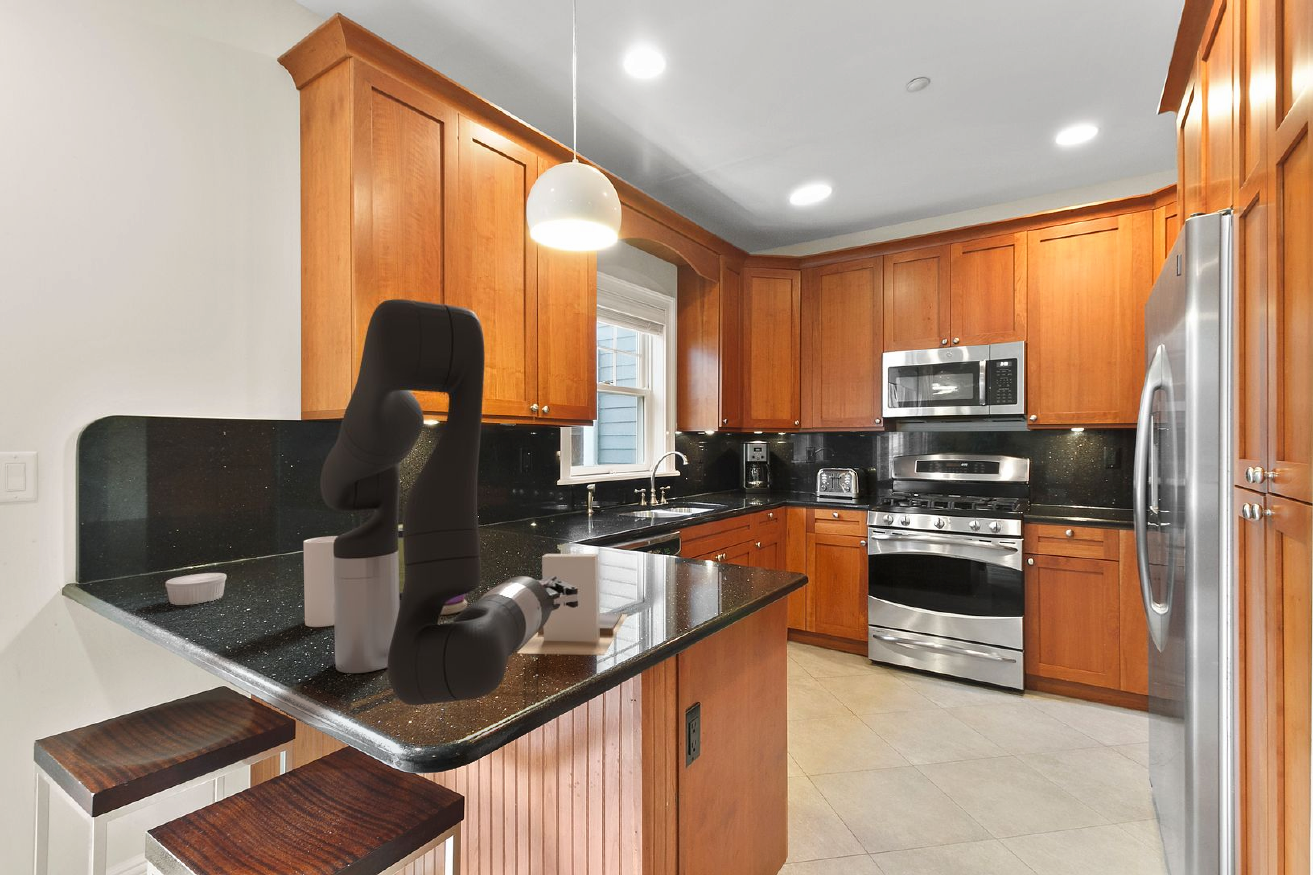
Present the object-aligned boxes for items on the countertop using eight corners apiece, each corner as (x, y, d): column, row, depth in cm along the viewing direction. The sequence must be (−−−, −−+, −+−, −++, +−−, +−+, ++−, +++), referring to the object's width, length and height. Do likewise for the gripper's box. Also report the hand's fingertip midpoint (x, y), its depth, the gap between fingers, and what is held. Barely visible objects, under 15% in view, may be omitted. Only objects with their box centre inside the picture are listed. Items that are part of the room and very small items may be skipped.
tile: (596, 641, 101) (595, 556, 101) (543, 640, 102) (542, 556, 102) (600, 635, 104) (598, 553, 104) (549, 634, 105) (547, 553, 105)
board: (604, 661, 94) (603, 646, 94) (516, 659, 96) (516, 645, 96) (627, 619, 116) (627, 607, 116) (555, 618, 118) (555, 607, 118)
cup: (299, 621, 120) (298, 539, 120) (344, 612, 126) (342, 534, 126) (312, 629, 114) (310, 544, 114) (358, 619, 120) (356, 538, 120)
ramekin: (202, 607, 133) (202, 583, 133) (151, 608, 133) (151, 584, 133) (238, 594, 144) (238, 572, 144) (192, 595, 144) (191, 573, 144)
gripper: (563, 582, 73) (594, 557, 90) (457, 583, 75) (508, 558, 92) (565, 645, 73) (596, 608, 90) (459, 645, 75) (509, 608, 92)
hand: (551, 583), depth 91 cm, fingers closed
